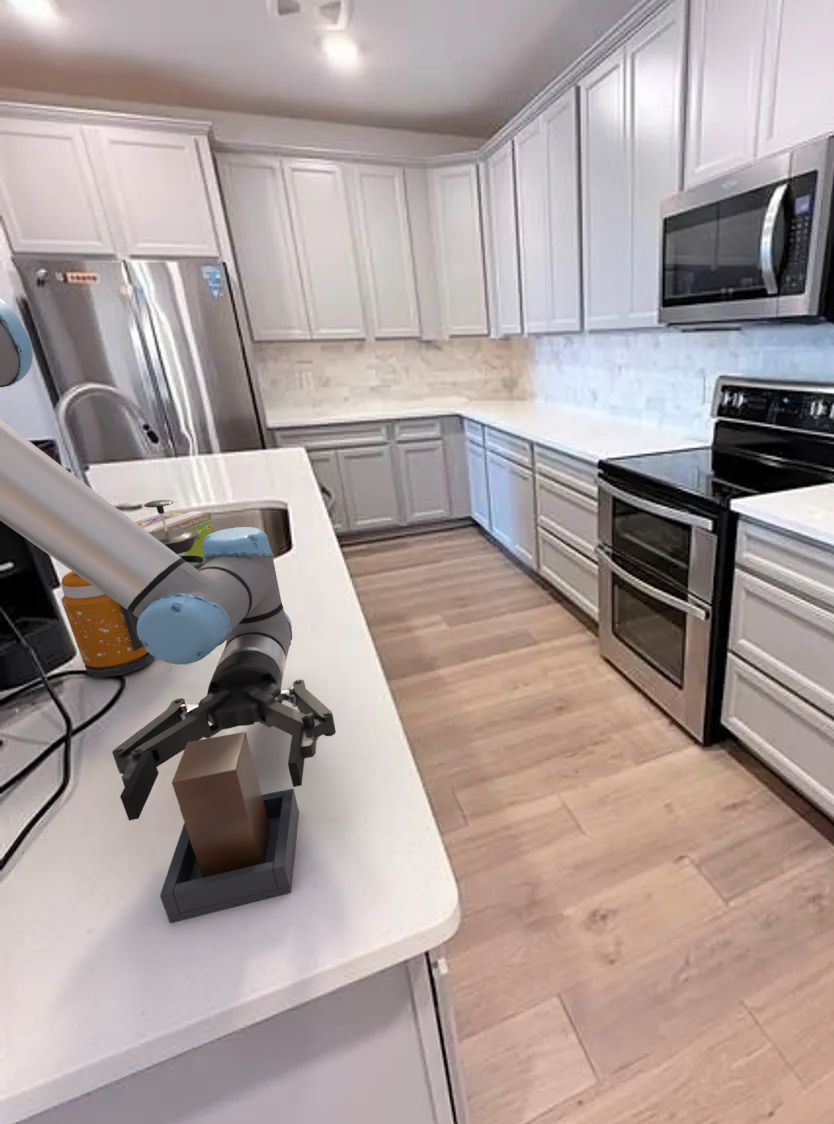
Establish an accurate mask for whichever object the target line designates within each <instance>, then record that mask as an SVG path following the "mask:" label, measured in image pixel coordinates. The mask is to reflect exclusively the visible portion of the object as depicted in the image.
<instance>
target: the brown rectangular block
mask: <svg viewBox="0 0 834 1124" xmlns="http://www.w3.org/2000/svg"><path fill="white" fill-rule="evenodd" d="M255 766H256V765H255V762H254V758H253V756H252V750H251V747H250V743H249V740H248V736H247V732H246V731H242V732H236V733H230V734H225V735H220V736H213V737H210V738H204V739H203V738H202V739H200V740H197V741H191V742H188V743H187V745H186V748H185V749H184V750H183V752H182V755H181V757H180V761H179V763H178V766H177V768H176V771H175V773H174V776H173V778H172V781H171V785H172V788H173V791H174V794H175V797H176V800H177V804H178V806H179V811H180V813H181V815H182V818H183V821H184V822H185V825H186V828H187V831H188V834H189V838H190V841H191V844H192V847H193V850H194V853H195V856H196V859H197V862H198V865H199V869H200V872H201V875H202V878H204V877H208V876H213V875H217V874H221V873H225V872H229V871H234V870H238V869H242V868H246V867H251V866H255V865H259V864H263V863H265V859H266V852H267V846H268V840H269V833H270V825H269V821H268V817H267V813H266V809H265V805H264V802H263V798H262V795H263V794H262V790H261V786H260V782H259V779H258V775H257V771H256V767H255Z"/></svg>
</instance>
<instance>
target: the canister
mask: <svg viewBox="0 0 834 1124" xmlns="http://www.w3.org/2000/svg"><path fill="white" fill-rule="evenodd" d="M60 586H61V590H62V593H63V596H62V597H61V603H62V606H63V609H64V612H65V615H66V618H67V621H68V623H69V626H70V629H71V633H72V635H73V637H74V641H75V643H76V646H77V649H78V652H79V653H80V657H81V659H82V662H83V664H84V668H85V670H86V674H88V675H89V676H91V677H98V678H105V677H117V676H122V675H127V674H129V673H132V672H135V671H137V670H139V669H140V668H142V667H144V666H146V665H147V664H150V662H152V660H154V658H155V657H154V656H152V655H151V654H150V653H148V652H147V650H146V649H145V646H144V645H143V644H142V642H141V640H139V637H138V635H137V622H138V619H139V618H137V617H136V616H135V615H134V614H132V613H131V612H129V611H128V610H127V609H125V608H124V607H122V606H121V605H120V604H118V603H117V602H115V601H114V600H113V599H111V598H110V597H108V596H107V595H105V594H104V593H103V592H101V591H100V590H98V589H97V588H96V587H94V586H93V585H91V584H90V583H88V582H87V581H86V580H84V579H83V578H81V577H80V576H79V575H77V574H76V573H74V572H73V571H70V572H67V573H66V574H65V575H64V576H63V577H62V578H61V583H60Z"/></svg>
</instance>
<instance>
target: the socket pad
mask: <svg viewBox="0 0 834 1124" xmlns="http://www.w3.org/2000/svg"><path fill="white" fill-rule="evenodd" d="M262 798H263V802H264V805H265V809H266V813H267V817H268V821H269V825H270V833H269V840H268V846H267V852H266V859H265V863H263V864H259V865H255V866H251V867H246V868H242V869H238V870H234V871H229V872H225V873H221V874H217V875H213V876H208V877H204V878H202V875H201V872H200V869H199V865H198V862H197V859H196V856H195V853H194V850H193V847H192V844H191V841H190V838H189V834H188V831H187V828H186V825H185V822H184V823H183V826H182V829H181V832H180V835H179V838H178V841H177V843H176V846H175V850H174V852H173V854H172V855H173V856H172V858H171V862H170V864H169V868H168V871H167V874H166V876H165V880H164V882H163V886H162V889H161V891H160V893H159V897H160V900H161V903H162V905H163V909H164V911H165V914H166V916H167V920H168V923H175V922H179V921H183V920H186V919H190V918H191V919H192V918H194V917H198V916H203V915H207V914H210V913H214V912H219V911H222V910H227V909H230V908H234V907H238V906H239V907H240V906H242V905H243V906H244V905H247V904H250V903H254V902H259V901H262V900H266V899H270V898H274V897H278V896H282V895H287V894H291V892H292V887H293V886H292V885H293V876H294V866H295V857H296V846H297V837H298V836H297V835H298V827H299V817H300V816H299V815H300V810H299V807H298V802H297V798H296V793H295V789H294V788H288V789H284V790H279V791H274V792H269V793H268V792H267V793H264V794H262Z"/></svg>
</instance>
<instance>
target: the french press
mask: <svg viewBox="0 0 834 1124" xmlns="http://www.w3.org/2000/svg"><path fill="white" fill-rule="evenodd" d="M172 504H174V500H171V499H157V500H151V501H148V502H147V503H145V504H144V505H143V507H145V508H156V511H157V513H158V514H160V515H161V518H162V522H163V525H164V529H165V531H162V532H157V533H153V534H151V535H152V536H153V537H155V538H156V539H157V540H159V541H160V542H161V543H163V544H164V545H165V546H167V547H168V548H169V549H170V550H172V551H173V552H174V553H176V554H180V553H184V552H187V551H189V550H190V549H191V548H192V546H193V544H194V541H195V538H196V537H197V536H198V532H197V531H195V530H190V529H178V530H167V527H166V523H165V520H164V516H163V513H164V512H165V508H164V507H165V506H166V507H167V506H169V505H172ZM158 514H157V515H158ZM180 557H181V558H182V559H183V560H185V561H186V562H188V563H190V562H194V563H200V564H198V565H196V566H194V567H195V568H196V569H197V570H198V569H199V568H201V567H202V566H203V565H205V564H206V562H205V559H204V558H203V557H201V556H196V555H186V556H180Z"/></svg>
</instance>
